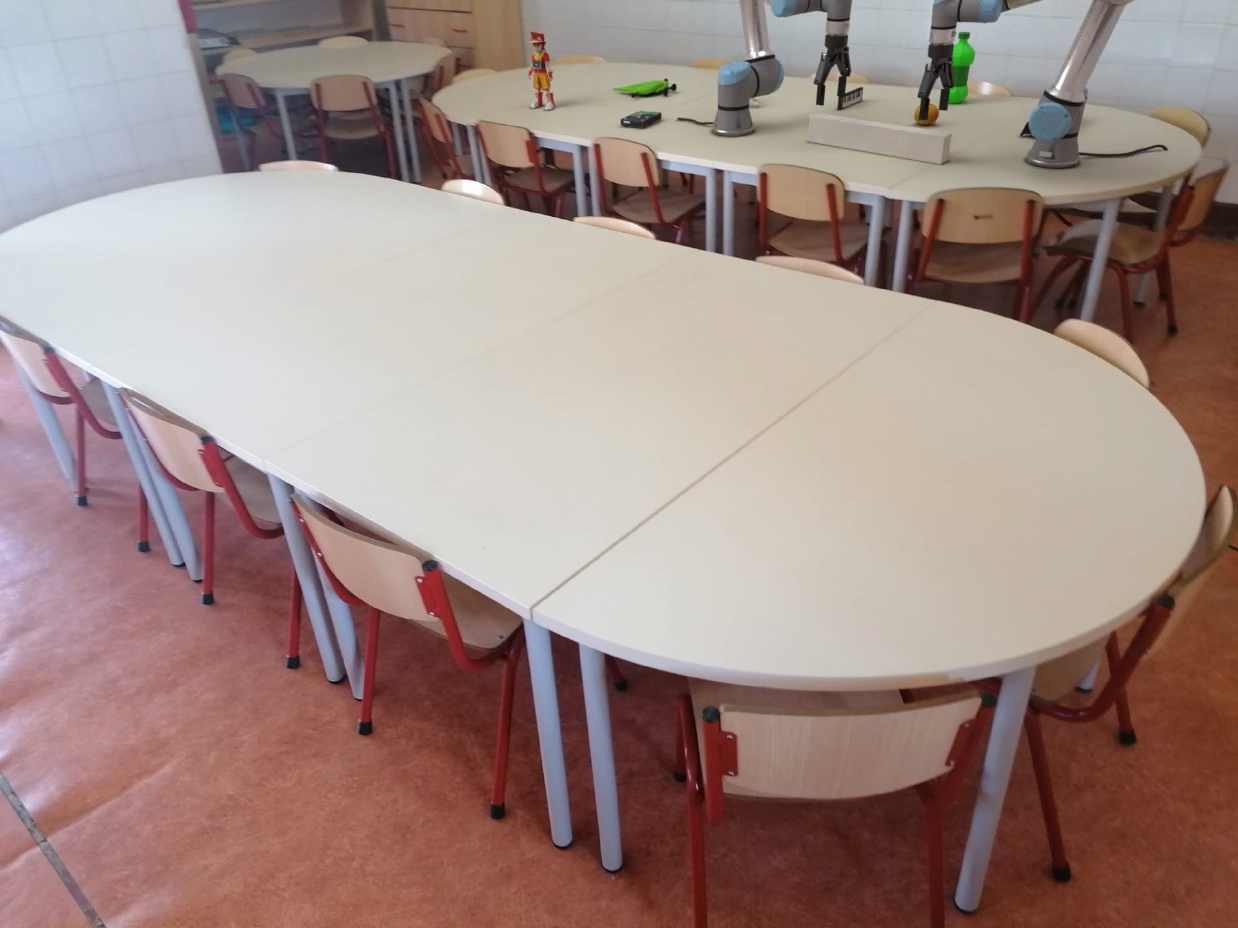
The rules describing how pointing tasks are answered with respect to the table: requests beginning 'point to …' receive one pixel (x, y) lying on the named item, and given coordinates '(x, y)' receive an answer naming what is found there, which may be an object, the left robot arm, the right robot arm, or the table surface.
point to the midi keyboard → (850, 98)
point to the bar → (880, 138)
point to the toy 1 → (541, 71)
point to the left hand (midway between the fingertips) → (830, 101)
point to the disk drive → (641, 119)
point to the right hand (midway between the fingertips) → (933, 115)
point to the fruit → (932, 115)
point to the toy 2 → (648, 88)
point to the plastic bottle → (961, 68)
